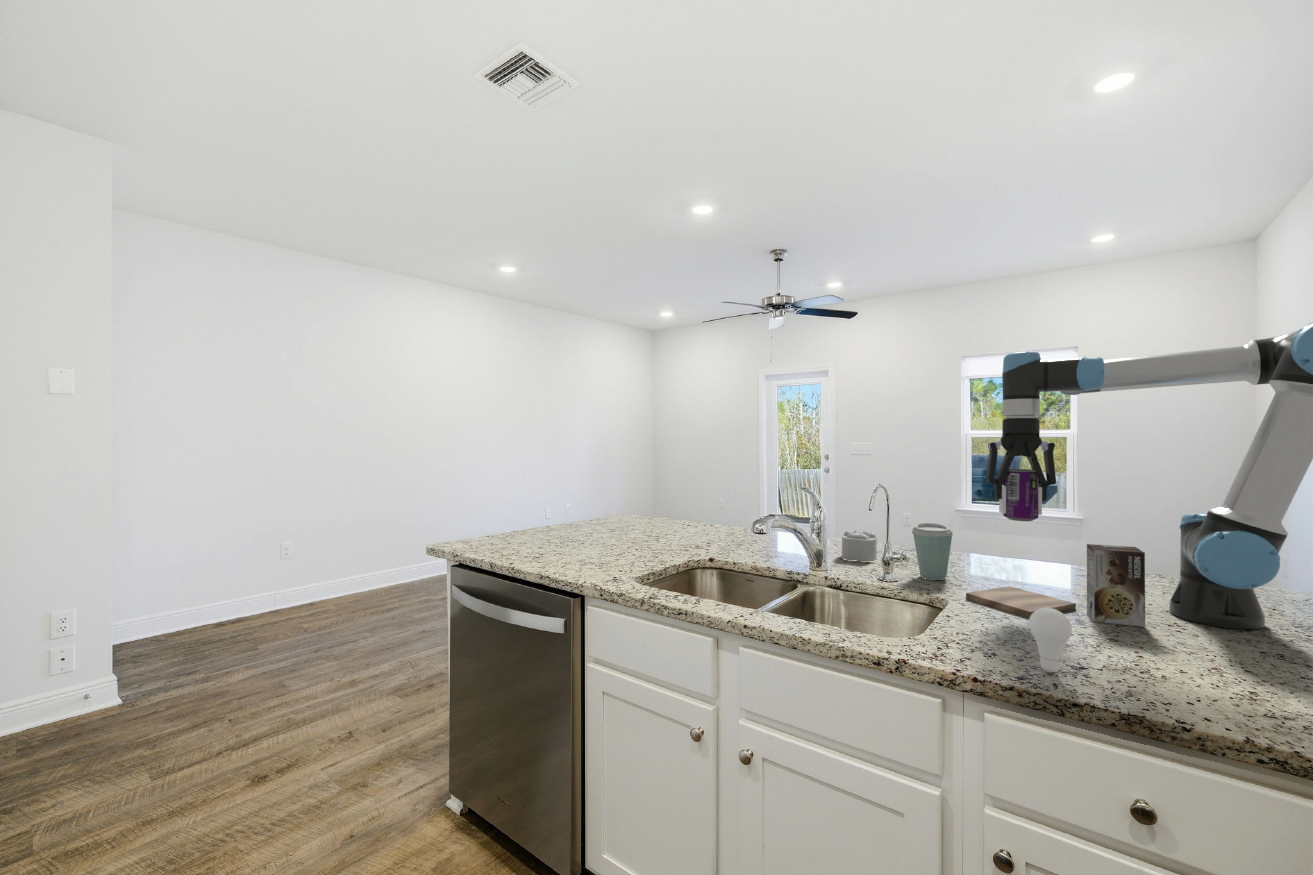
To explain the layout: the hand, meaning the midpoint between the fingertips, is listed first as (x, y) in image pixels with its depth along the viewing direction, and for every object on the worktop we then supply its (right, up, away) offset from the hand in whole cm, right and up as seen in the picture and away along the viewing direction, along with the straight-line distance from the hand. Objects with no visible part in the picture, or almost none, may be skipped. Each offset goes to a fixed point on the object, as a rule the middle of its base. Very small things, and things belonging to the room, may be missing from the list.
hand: (1020, 513), depth 137 cm
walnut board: (0, -22, 0) cm, 22 cm away
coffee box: (+13, -22, -11) cm, 28 cm away
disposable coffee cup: (-9, -22, +25) cm, 34 cm away
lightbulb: (-20, -23, -38) cm, 49 cm away
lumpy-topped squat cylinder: (-21, -22, +51) cm, 59 cm away
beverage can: (0, -2, 0) cm, 2 cm away
